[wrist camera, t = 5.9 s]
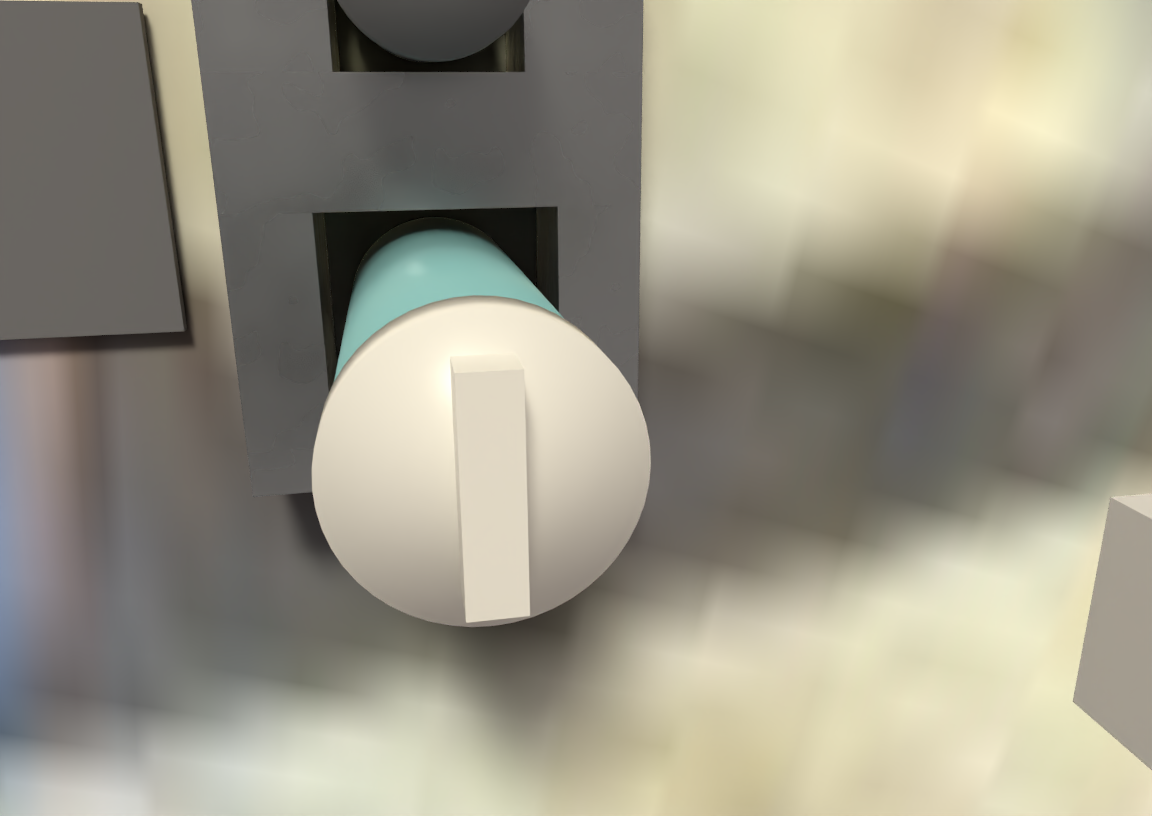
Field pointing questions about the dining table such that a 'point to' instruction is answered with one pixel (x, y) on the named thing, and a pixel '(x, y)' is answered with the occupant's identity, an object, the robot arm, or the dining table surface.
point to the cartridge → (472, 436)
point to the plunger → (433, 25)
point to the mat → (82, 176)
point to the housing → (410, 182)
